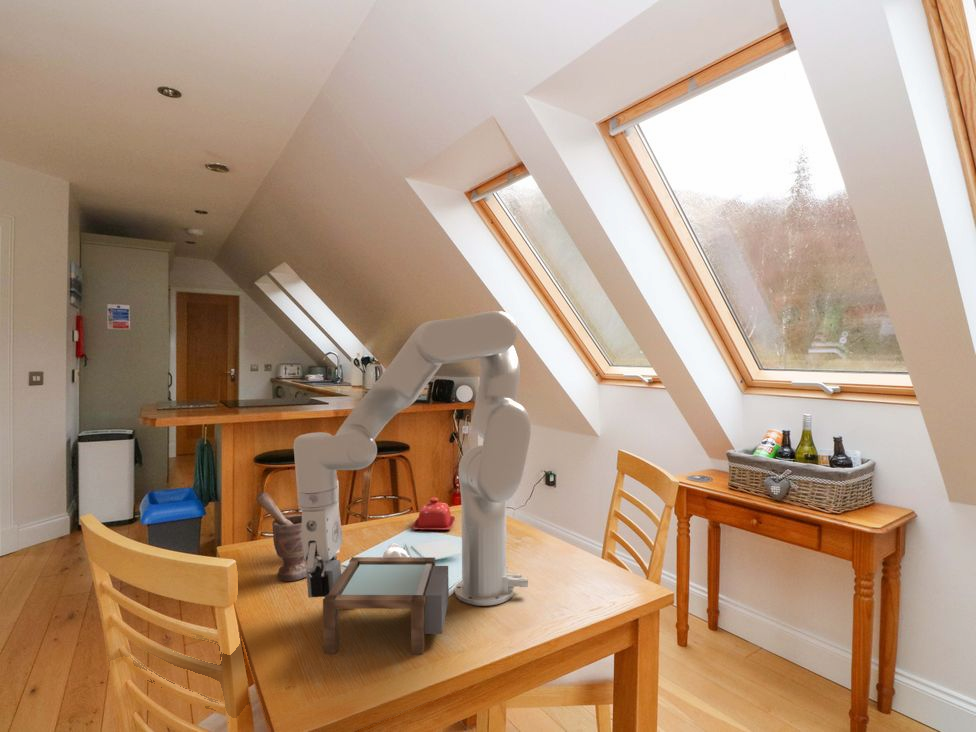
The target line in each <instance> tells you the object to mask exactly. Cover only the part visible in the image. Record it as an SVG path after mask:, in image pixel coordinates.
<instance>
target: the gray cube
mask: <svg viewBox="0 0 976 732" xmlns="http://www.w3.org/2000/svg"><path fill="white" fill-rule="evenodd" d="M316 565H317V566H319V567H320V568H321V563H316ZM341 567H342V566H341V560H340V559H337V560H330V561H326V575H328V585H329V592H330V591H331V589H332V588H333V586H334V585H335V584H336V582H337V581H338V579H339V578H340V576H341V575H342V569H341ZM306 574H307V577H306V585H307V597H308V598H313V597H312V594H311V581H310V576H309V571H308V570H307V572H306Z"/></svg>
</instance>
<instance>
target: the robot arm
mask: <svg viewBox="0 0 976 732" xmlns="http://www.w3.org/2000/svg"><path fill="white" fill-rule="evenodd" d="M518 328H519V327H518V325H517V322H516V321H515V319H514V318H513V316H511V315H510V314H508V313H506V312H505V311H502V310H501V311H500V310H492V311H491V310H490V311H485V312H483V311H482V312H479V313H476V314H472V315H467V316H459V317H454V318H445V319H437V320H436V319H435V320H430V321H426V322H423V323H421V324H419V326H418V327H417V328H416V329H415V330H414V331H413V333H412V334H411V335H410V336H409V338H408V340H407V341H406V342H405V343H404V345H403V346H402V347H401V349H400V350H399V351H398V353H397V354H396V355H395V357H394V358H393V359H392V361H391V362H390V363H389V365H388V366H387V367H386V369H385V370H384V371H383V373H382V374H381V375H380V376H379V378H378V379H377V380H376V381H375V382H374V384H373V385H372V386H371V388H370V389H369V390H368V391H367V392H366V393H365V394H364V396H363V397H362V398H361V399H360V400H359V401H358V403H357V404H356V406H355V407H354V408H353V409H352V411H351V412H350V413H349V415H347V417H346V419H345V420H344V421H343V423H342V424H341V426H340V427H339V428H338V430H337V431H336V434H334V435H332V434H331V433H329V432H320V431H317V432H310V433H309V432H308V433H305V434H300V435H299V436H297V437H296V438H295V439H294V442H293V454H294V467H295V480H296V494H297V495H296V496H297V504H298V505H297V506H298V509H299V510H300V511H301V515H302V546H303V556H304V561H305V562H306V563H307V566H306V569H307V570H308V571H309V576H310V581H311V594H312V597H311V598H325V596H326V595H328V594H329V585H328V575H326V561H330V560H338V557H337V556H338V555H337V554H336V552H337V551H338V549H339V550H340V549H341V546H342V545H343V532H342V523H341V516H340V515H341V514H340V507H339V508H338V503H339V504H340V497H339V496H338V494H339V483H338V484H337V480H338V474H337V473H338V472H337V470H338V471H340V470H341V471H357V470H358V471H359V470H362V469H365V468H368V467H369V466H370V465H372V463H374V461H375V459H376V457H377V455H378V446H377V443H376V441H375V439H377V438H378V435H380V433H381V431H382V430H383V429H384V427H385V426H386V425H387V424H388V423H389V422H390V421H391V420H392V419H393V418H394V417H395V415H398V413H400V412H401V411H403V410H404V409H407V408H409V407H410V406H412V404H414V403H415V402H416V401H417V399H418V398H419V397H420V396H421V394H422V393H423V391H424V390H425V388H426V387H427V386H428V385H429V383H430V381H431V380H432V379H433V377H434V376H435V375H436V373H437V372H438V370H439V369H440V368H441V367H442V365H444V364H452V363H458V362H465V361H470V360H475V359H477V360H478V362H479V371H480V372H479V373H480V374H479V378H478V379H479V380H478V381H479V382H478V386H477V387H478V388H477V392H476V399H475V402H474V403H475V404H474V407H473V413H472V417H471V422H472V425H471V426H472V428H473V430H474V432H475V434H476V435H478V436H479V437H480V438H482V439H483V441H482V445H475V446H473V447H470V448H469V449H468V450H466V451H465V452H464V453H463V455H462V457H461V459H460V461H459V464H458V481H459V482H458V483H459V489H460V500H461V501H460V502H461V580H460V581H459V582H458V583H457V584H456V585H455V588H454V595H455V597H456V598H458V600H459V601H461V602H463V603H464V604H465V603H466V604H469V605H472V606H482V607H484V606H485V607H487V606H489V607H490V606H495V605H500V604H502V603H505V602H507V601H509V600H510V599H511V598H512V597H513V595H514V592H515V590H514V587H518V588H528V587H529V584H528V583H529V582H528V581H529V579H528V577H523V575H522V573H511V572H509V568H508V566H507V503H506V502H507V501H509V500H511V499H512V498H513V497H514V496H515V495H516V494H517V493H518V491H519V489H520V487H521V484H522V482H523V478H524V474H525V473H524V472H525V467H526V463H527V458H528V452H529V445H530V442H531V441H530V440H531V433H532V424H531V418H530V415H529V413H528V412H527V410H526V408H525V407H524V406H523V405H522V404H520V403H518V402H517V399H518V398H517V397H518V392H519V384H520V377H521V376H520V375H521V366H520V359H519V357H518V353H517V350H516V348H515V346H514V345H515V343H516V341H517V339H518V334H519V331H518ZM317 556H320V558H321V559H317V558H316V557H317ZM316 563H321V568H320V567H319V566H317V565H316Z"/></svg>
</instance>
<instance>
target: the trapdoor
mask: <svg viewBox="0 0 976 732" xmlns="http://www.w3.org/2000/svg"><path fill="white" fill-rule="evenodd" d="M431 571H432V572H431ZM430 575H431V576H430ZM429 578H430V579H429ZM428 581H429V583H428ZM427 585H428V586H427ZM426 588H427V589H426ZM425 591H426V593H425ZM341 595H424V635H428V634H429V635H437V634H438V635H441V634H443V630H444V626H445V620H446V616H447V610H448V605H449V601H450V600H449V597H450V595H449V565H435V566H433V569H432V564H426V565H359V567H358V568H357V570H356V572H355V573H354V575H353V576H352V578H351V580H350V581H349V583H348V584H347V586H346V588H345V589H344V591H343V592H342V594H341Z"/></svg>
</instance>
